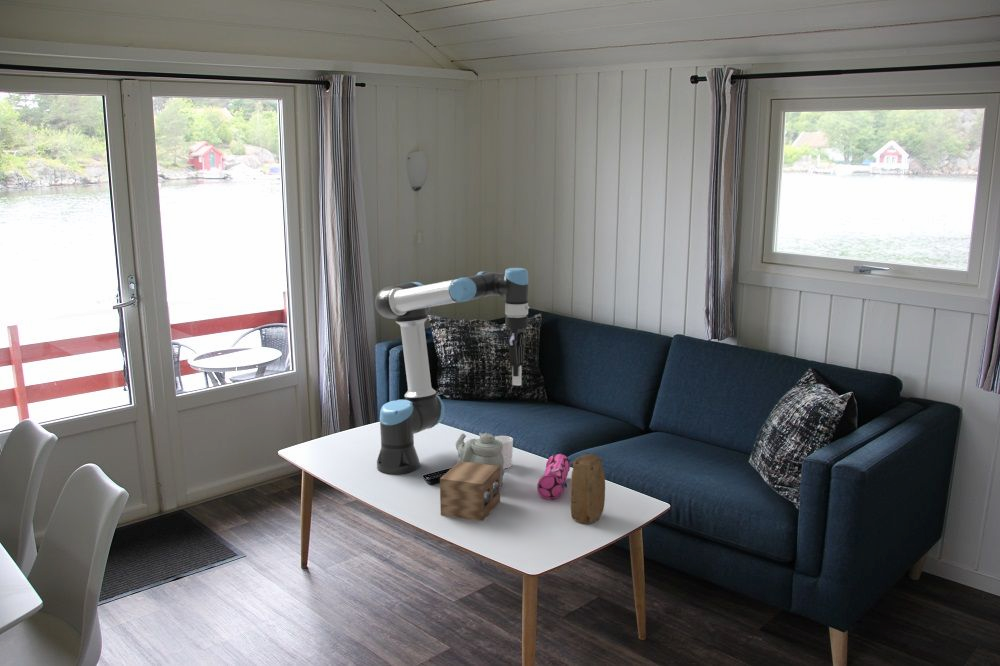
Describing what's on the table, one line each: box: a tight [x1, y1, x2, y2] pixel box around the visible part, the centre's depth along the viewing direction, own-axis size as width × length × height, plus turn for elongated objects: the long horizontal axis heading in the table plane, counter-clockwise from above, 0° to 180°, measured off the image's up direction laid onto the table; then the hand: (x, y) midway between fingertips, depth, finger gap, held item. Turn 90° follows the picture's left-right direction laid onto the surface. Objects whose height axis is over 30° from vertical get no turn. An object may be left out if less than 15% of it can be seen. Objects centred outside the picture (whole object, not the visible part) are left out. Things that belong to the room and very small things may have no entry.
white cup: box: [494, 435, 514, 470], centre depth 309 cm, size 8×8×10 cm
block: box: [570, 453, 606, 524], centre depth 264 cm, size 11×8×20 cm
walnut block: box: [439, 460, 501, 522], centre depth 273 cm, size 14×16×12 cm
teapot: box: [455, 432, 505, 487], centre depth 292 cm, size 16×15×19 cm
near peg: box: [484, 491, 490, 504], centre depth 269 cm, size 14×4×4 cm, turn 71°
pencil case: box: [536, 453, 571, 500], centre depth 288 cm, size 21×10×10 cm, turn 171°
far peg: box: [493, 482, 499, 494], centre depth 276 cm, size 14×4×4 cm, turn 71°
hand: (516, 384), depth 288 cm, fingers closed
